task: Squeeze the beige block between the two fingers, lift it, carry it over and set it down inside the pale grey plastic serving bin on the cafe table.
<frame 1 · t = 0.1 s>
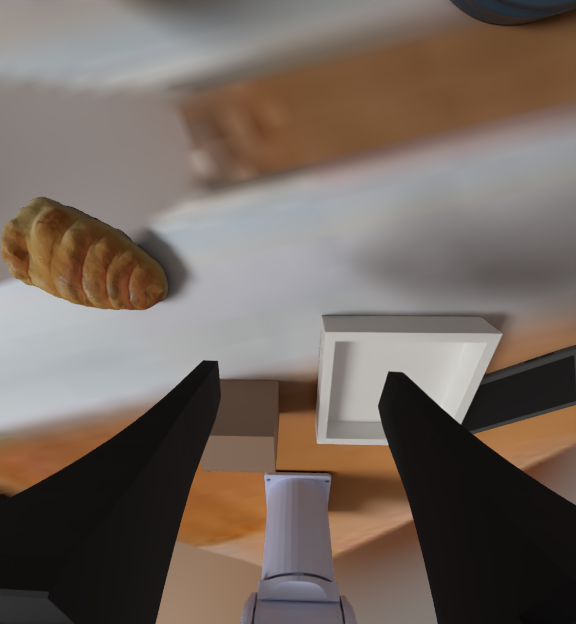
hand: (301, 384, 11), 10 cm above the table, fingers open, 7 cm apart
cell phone: (497, 393, 25), on the table
serving bin: (386, 376, 23), on the table
beige block: (248, 396, 25), on the table
pastry: (103, 255, 19), on the table
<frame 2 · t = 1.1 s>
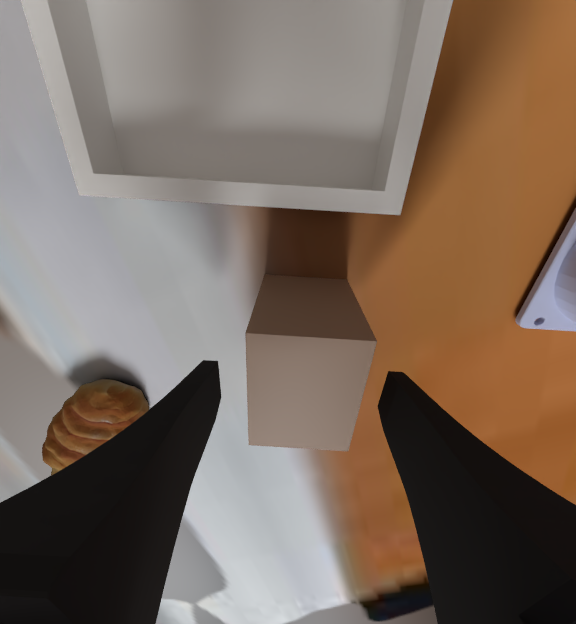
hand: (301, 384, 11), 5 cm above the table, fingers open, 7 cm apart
serving bin: (247, 11, 9), on the table
beige block: (301, 323, 15), on the table
pastry: (112, 417, 20), on the table
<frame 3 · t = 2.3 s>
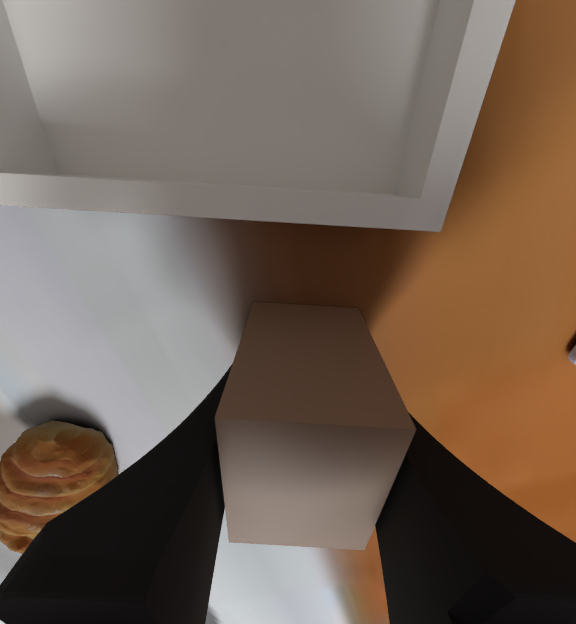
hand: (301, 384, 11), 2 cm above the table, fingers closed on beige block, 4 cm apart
beige block: (300, 360, 12), on the table, touching gripper
pastry: (74, 458, 17), on the table
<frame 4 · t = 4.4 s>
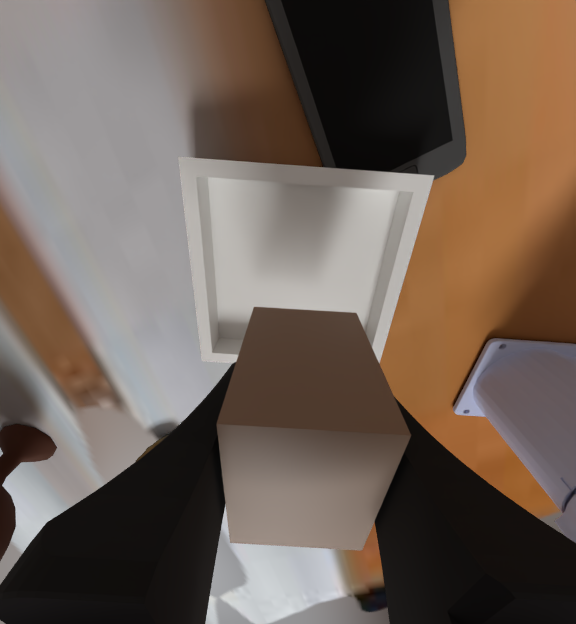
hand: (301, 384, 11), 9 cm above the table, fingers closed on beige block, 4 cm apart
ice cream bowl: (30, 439, 28), on the table
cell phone: (363, 57, 13), on the table
serving bin: (296, 272, 18), on the table
beige block: (300, 363, 13), point 7 cm above the table, touching gripper
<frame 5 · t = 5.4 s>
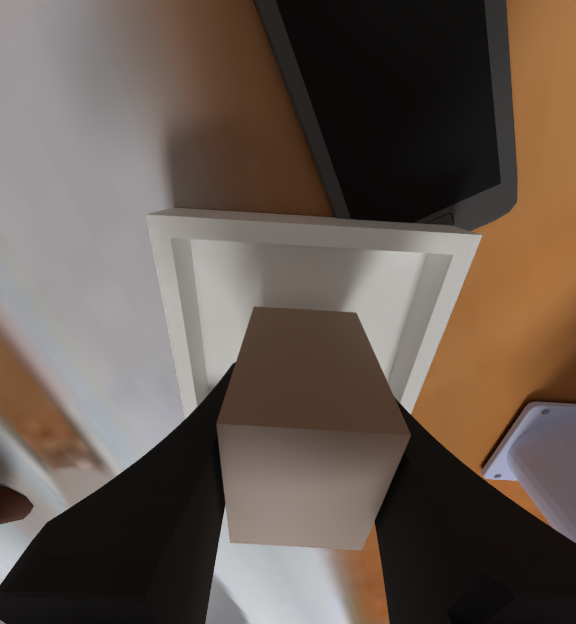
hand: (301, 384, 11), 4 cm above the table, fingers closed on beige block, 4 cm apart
ice cream bowl: (4, 498, 25), on the table
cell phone: (387, 79, 10), on the table
serving bin: (300, 331, 15), on the table
beige block: (299, 363, 13), point 3 cm above the table, touching gripper
when the fingers open (4 cm above the table, at t = 6.4 s): beige block drops 1 cm, resting on serving bin.
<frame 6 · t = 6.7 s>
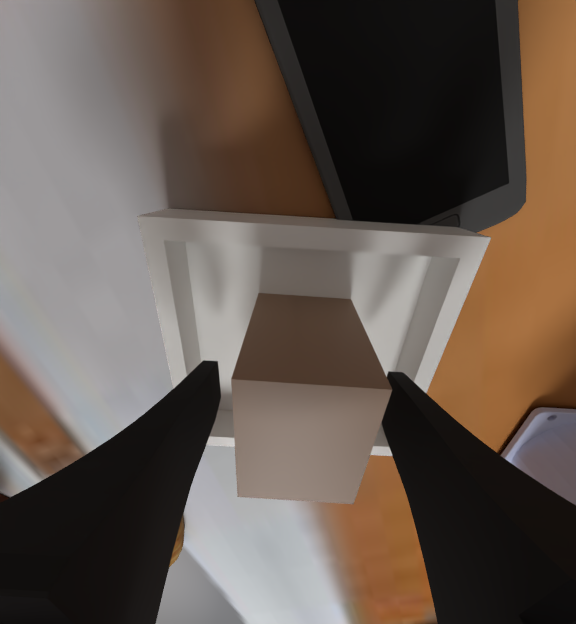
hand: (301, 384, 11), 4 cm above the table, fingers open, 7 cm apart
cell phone: (390, 74, 9), on the table
serving bin: (299, 336, 14), on the table
beige block: (299, 346, 14), point 1 cm above the table, touching serving bin
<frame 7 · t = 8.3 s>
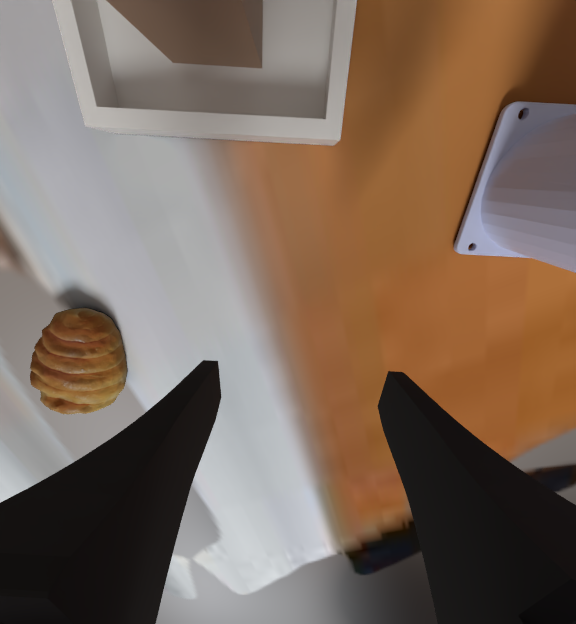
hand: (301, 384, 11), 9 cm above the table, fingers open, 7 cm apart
pastry: (93, 352, 23), on the table
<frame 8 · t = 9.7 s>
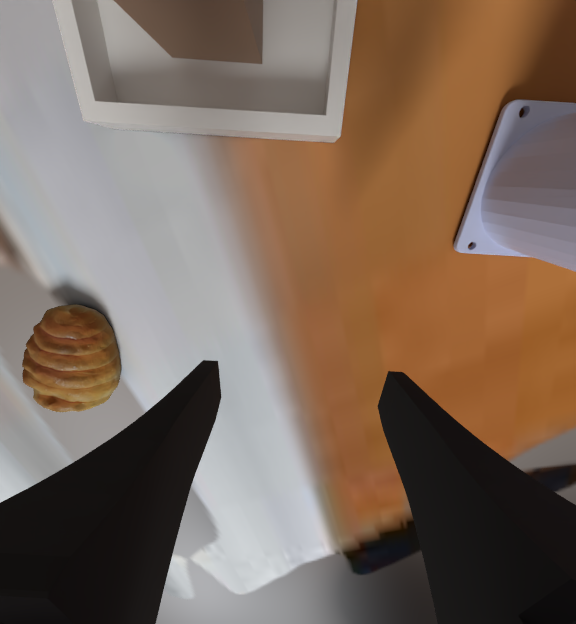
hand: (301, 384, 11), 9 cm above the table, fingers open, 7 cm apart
pastry: (86, 350, 23), on the table
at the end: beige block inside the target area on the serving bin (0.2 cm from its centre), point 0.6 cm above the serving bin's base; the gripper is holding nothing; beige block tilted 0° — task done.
